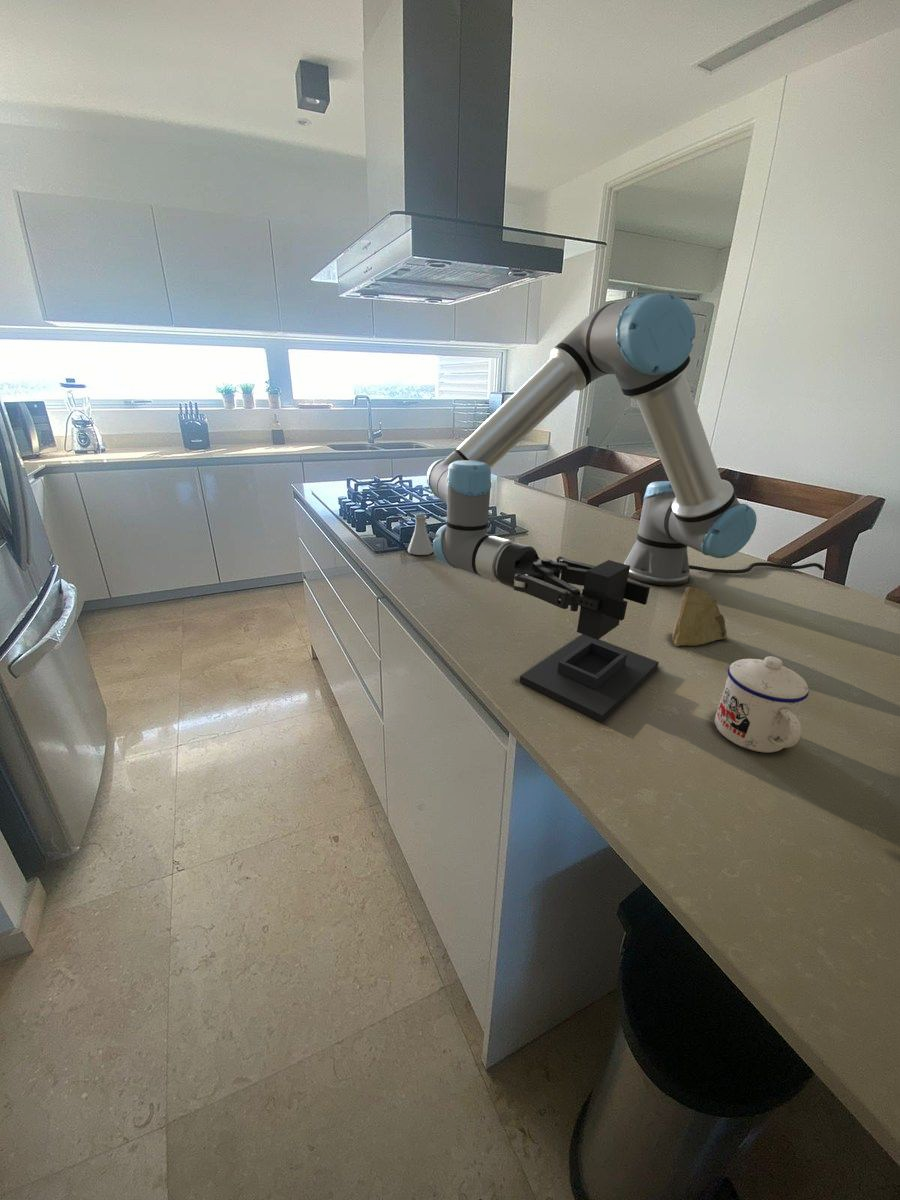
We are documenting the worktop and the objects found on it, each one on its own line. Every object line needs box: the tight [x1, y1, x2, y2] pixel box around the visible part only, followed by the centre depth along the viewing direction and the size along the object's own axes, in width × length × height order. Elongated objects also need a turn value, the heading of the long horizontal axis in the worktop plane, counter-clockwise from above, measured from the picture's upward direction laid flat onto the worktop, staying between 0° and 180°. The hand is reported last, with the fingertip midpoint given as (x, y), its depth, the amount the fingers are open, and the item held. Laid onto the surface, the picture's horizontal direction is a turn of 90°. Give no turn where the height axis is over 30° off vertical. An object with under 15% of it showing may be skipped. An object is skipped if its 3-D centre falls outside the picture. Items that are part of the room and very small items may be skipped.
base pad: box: [519, 634, 660, 723], centre depth 78 cm, size 20×14×3 cm
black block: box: [576, 559, 630, 640], centre depth 73 cm, size 7×4×10 cm, turn 137°
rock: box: [671, 586, 728, 647], centre depth 89 cm, size 11×9×10 cm
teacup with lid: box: [714, 655, 810, 753], centre depth 63 cm, size 12×9×12 cm
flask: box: [407, 514, 434, 556], centre depth 131 cm, size 7×7×10 cm
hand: (636, 603), depth 70 cm, fingers closed on black block, 7 cm apart
